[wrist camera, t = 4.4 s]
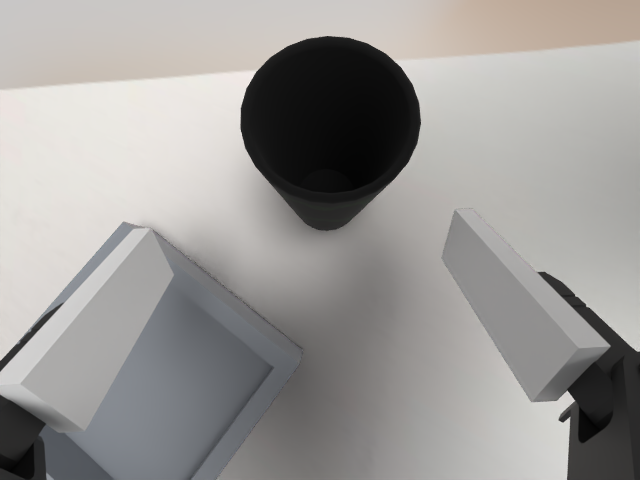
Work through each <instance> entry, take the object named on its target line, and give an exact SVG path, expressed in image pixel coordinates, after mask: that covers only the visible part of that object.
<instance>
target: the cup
mask: <svg viewBox="0 0 640 480" xmlns="http://www.w3.org/2000/svg"><path fill="white" fill-rule="evenodd" d="M420 125H421V119H420V107H419V101H418V99H417V96H416V93H415V90H414V87H413V85H412V83H411V82H410V80H409V79H408V77H407V76H406V74H405V73H404V71H403V70H402V68H401V67H400V66H399V65H398V64H397V63H395V62H394V61H393V60H392V59H391V58H390V57H389V56H388V55H387V54H385V53H384V52H382V51H380V50H378V49H376V48H374V47H373V46H371V45H369V44H367V43H364V42H361V41H357V40H354V39H351V38H344V37H332V36H325V37H319V38H311V39H306V40H303V41H300V42H298V43H295V44H292V45H290V46H287V47H286V48H284V49H283V50H281V51H280V52H278V53H276V54H275V55H273V56H272V57H271V58H269V60H267V61H266V62H265V64H264V65H263V66H262V67H261V68H260V69H259V70H258V71H257V72H256V73H255V75H254V77H253V79H252V80H251V82H250V84H249V85H248V87H247V89H246V92H245V96H244V99H243V103H242V106H241V132H242V136H243V140H244V145H245V148H246V150H247V152H248V154H249V156H250V157H251V159H252V161H253V163H254V165H255V166H256V168H257V169H258V170H259V171H260V172H261V173H262V175H263V176H264V177H265V178H266V179H267V180H268V181H269V183H270V184H271V185H272V186H273V187H274V188H275V189H276V191H277V192H278V193H279V194H280V195H281V196H282V197H283V199H284V200H285V201H286V202H287V203H288V204H289V205H290V207H291V208H292V209H293V210H294V211H295V212H296V214H297V215H298V216H299V217H300V218H301V219H302V220H303V221H304V222H305V223H306V224H307V225H309V226H311V227H312V228H315V229H318V230H326V231H328V230H335V229H337V228H340V227H342V226H344V225H345V224H347V223H348V222H349V221H350V220H351V219H352V218H353V217H355V216H356V215H357V214H358V213H359V212H360V211H361V210H362V209H363V208H364V207H365V206H366V205H367V204H368V203H369V202H370V201H371V200H373V199H374V198H375V197H376V196H377V195H378V194H379V193H380V192H381V191H382V190H383V189H384V188H385V187H386V186H387V185H388V184H389V183H391V182H392V181H393V180H394V179H395V178H396V176H397V175H398V174H399V173H400V172H401V170H402V169H403V168H404V167H405V166H406V164H407V163H408V162H409V160H410V158H411V156H412V153H413V151H414V149H415V147H416V145H417V142H418V136H419V131H420Z"/></svg>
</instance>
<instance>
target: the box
mask: <svg viewBox="0 0 640 480" xmlns="http://www.w3.org/2000/svg"><path fill="white" fill-rule="evenodd" d="M141 228H144V227H140V226H137V225H134V224H130V223H127V222H123V223H122V224H121V225H120V226H119V227H118V228H117V230H116V231H115V232H114V233H113V234H112V235H111V236H110V238H109V239H108V240H107V241H106V242H105V243H104V244H103V246H102V247H101V248H100V249H99V250H98V251H97V252H96V254H95V255H94V256H93V257H92V258H91V259H90V260H89V262H88V263H87V264H86V265H85V266H84V267H83V268H82V270H81V271H80V272H79V273H78V274H77V275H76V276H75V278H74V279H73V280H72V281H71V282H70V283H69V284H68V286H67V287H66V288H65V289H64V290H63V291H62V292H61V294H60V295H59V296H58V297H57V298H56V299H55V300H54V302H53V303H52V304H51V305H50V306H49V307H48V308H47V310H46V311H45V312H44V313H43V314H42V315H41V316H40V318H39V319H38V320H37V321H36V322H35V323H34V324H33V326H32V327H31V328H30V329H29V330H28V331H27V332H26V334H27V333H28V332H31V329H32V328H33V327H34V326H35V324H36V323H37V322H38V321H39V320H40V319H41V318H42V317H43V316H44V315H45V314H47V313H48V312H50V311H51V310H53V309H54V308H55V307H57V306H58V305H60V304H61V303H65V302H66V301H67V300H68V299H69V297H70V296H71V295H72V294H73V293H74V292H75V291H76V290H77V289H78V288H79V287H80V286H81V285H82V283H83V282H84V281H85V280H86V279H87V278H88V277H89V276H90V275H91V274H92V273H93V272H94V271H95V270H96V268H97V267H98V266H99V265H100V264H101V263H102V262H103V261H104V260H105V259H106V258H107V257H108V256H109V254H110V253H111V252H112V251H113V250H114V249H115V248H116V247H117V246H118V245H119V244H120V243H121V242H122V241H123V239H124V238H125V237H126V236H127V235H128V234H129V233H130V232H131V231H132V230H133V229H141ZM152 231H153V230H152ZM153 233H154V235H155V237H156V239H157V241H158V243H159V245H160V247H161V249H162V251H163V253H164V255H165V257H166V259H167V261H168V263H169V266H170V268H171V270H172V272H173V274H174V276H173V278H172V280H171V281H170V283H169V285H168V287H167V288H166V290H165V292H164V294H163V295H162V297H161V299H160V301H159V302H158V304H157V306H156V308H155V309H154V311H153V313H152V315H151V316H150V318H149V320H148V322H147V323H146V325H145V327H144V329H143V330H142V332H141V334H140V336H139V337H138V339H137V341H136V343H135V344H134V346H133V348H132V350H131V351H130V353H129V355H128V357H127V358H126V360H125V362H124V364H123V365H122V367H121V369H120V371H119V372H118V374H117V376H116V378H115V379H114V381H113V383H112V385H111V386H110V388H109V390H108V392H107V393H106V395H105V397H104V399H103V400H102V402H101V404H100V406H99V407H98V409H97V411H96V413H95V414H94V416H93V418H92V420H91V421H90V423H89V425H88V427H87V428H86V430H85V431H79V432H63V433H58V432H57V431H55V430H54V429H52V428H51V427H49V426H48V425H45V426H44V428H43V429H42V431H41V432H40V434H39V436H41V437H42V439H43V441H44V446H45V462H46V478H47V480H216V478H217V477H218V476H219V474H220V473H221V472H222V470H223V469H224V467H225V466H226V465H227V463H228V462H229V461H230V459H231V458H232V456H233V455H234V454H235V452H236V451H237V450H238V448H239V447H240V445H241V444H242V443H243V441H244V440H245V439H246V437H247V436H248V434H249V433H250V432H251V430H252V429H253V428H254V426H255V425H256V423H257V422H258V421H259V419H260V418H261V417H262V415H263V414H264V412H265V411H266V410H267V408H268V407H269V406H270V404H271V403H272V401H273V400H274V399H275V397H276V396H277V395H278V393H279V392H280V390H281V389H282V388H283V386H284V385H285V384H286V382H287V381H288V379H289V378H290V377H291V375H292V374H293V373H294V371H295V370H296V368H297V367H298V366H299V364H300V361H301V358H302V354H303V350H302V349H301V348H299V347H298V346H297V345H296V344H294V343H293V342H292V341H291V340H289V339H288V338H287V337H286V336H285V335H283V334H282V333H281V332H280V331H278V330H277V329H276V328H275V327H273V326H272V325H271V324H270V323H268V322H267V321H266V320H265V319H263V318H262V317H261V316H260V315H258V314H257V313H256V312H255V311H253V310H252V309H251V308H250V307H248V306H247V305H246V304H245V303H243V302H242V301H241V300H240V299H238V298H237V297H236V296H235V295H233V294H232V293H231V292H230V291H228V290H227V289H226V288H225V287H223V286H222V285H221V284H220V283H218V282H217V281H216V280H215V279H213V278H212V277H211V276H210V275H208V274H207V273H206V272H205V271H203V270H202V269H201V268H200V267H198V266H197V265H196V264H195V263H193V262H192V261H191V260H190V259H188V258H187V257H186V256H185V255H183V254H182V253H181V252H180V251H178V250H177V249H176V248H175V247H173V246H172V245H171V244H170V243H168V242H167V241H166V240H165V239H163V238H162V237H161V236H160V235H158V234H157V233H156V232H155V231H153ZM26 334H25V335H26ZM25 335H24V336H25ZM24 336H23V337H24ZM23 337H22V338H23ZM22 338H21V339H22ZM21 339H20V340H21ZM20 340H19V342H18V343H17V344H19V343H20Z"/></svg>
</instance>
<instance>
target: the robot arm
mask: <svg viewBox="0 0 640 480" xmlns="http://www.w3.org/2000/svg"><path fill="white" fill-rule="evenodd" d="M441 259H442V260H443V262H444V264H445V265H446V267H447V268H448V270H449V272H450V273H451V275H452V276H453V278H454V280H455V281H456V283H457V284H458V286H459V288H460V289H461V291H462V292H463V294H464V296H465V297H466V299H467V300H468V302H469V304H470V305H471V307H472V308H473V310H474V312H475V313H476V315H477V316H478V318H479V320H480V321H481V323H482V324H483V326H484V328H485V329H486V331H487V332H488V334H489V336H490V337H491V339H492V340H493V342H494V344H495V345H496V347H497V348H498V350H499V352H500V353H501V355H502V356H503V358H504V360H505V361H506V363H507V364H508V366H509V368H510V369H511V371H512V372H513V374H514V376H515V377H516V379H517V380H518V382H519V384H520V385H521V387H522V388H523V390H524V392H525V393H526V395H527V396H528V398H529V400H530V401H531V402H543V401H557V400H558V399H559V398H560V397H561V396H562V395H563V394H564V393H565V392H566V391H567V390H568V392H569V393H570V394H571V396H572V397H573V398H574V400H575V402H573V403H572V404H571V405H570V406H569V407H568V408H567V409H566V410H565V411H564V412H563V413H562V414H561V415H560V417H559V421H561V422H564V421H566V420H567V419H568V418H569V417H570V435H569V455H568V474H567V480H640V352H637V351H635V350H634V349H633V348H632V347H631V346H629V345H628V344H627V343H626V342H625V341H624V340H623V339H622V338H621V337H620V336H619V335H618V334H617V333H616V332H615V331H613V330H612V329H611V328H610V327H609V326H608V325H607V324H606V323H605V322H604V321H603V320H602V319H601V318H600V317H599V316H597V315H596V314H595V313H594V312H593V311H592V310H591V309H590V308H589V307H586V304H585V303H584V302H583V301H581V300H580V299H579V298H578V297H575V294H574V293H573V292H572V291H571V290H570V289H569V288H568V287H567V286H565V285H564V284H563V283H562V282H561V281H559V280H557V279H556V278H554V277H552V276H551V275H549V274H547V273H546V272H536V271H535V270H534V269H533V268H532V267H531V266H530V265H529V264H528V263H527V262H526V261H525V260H524V259H523V258H522V257H521V256H520V255H519V254H518V253H517V252H516V251H515V250H514V249H513V248H512V247H511V246H510V245H509V244H508V243H507V242H506V241H505V240H504V239H503V238H502V237H501V236H500V235H499V234H498V233H497V232H496V231H495V230H494V229H493V228H492V227H491V226H490V225H489V224H488V223H487V222H486V221H485V220H484V219H483V218H482V217H481V216H480V215H479V214H478V213H477V212H476V211H475V210H474V209H473V208H469V209H455V211H454V214H453V218H452V222H451V225H450V229H449V232H448V236H447V240H446V243H445V247H444V250H443V254H442V258H441ZM173 276H174V274H173V272H172V270H171V268H170V266H169V263H168V261H167V259H166V257H165V255H164V253H163V251H162V249H161V247H160V245H159V243H158V241H157V239H156V237H155V235H154V233H153V231H152V229H151V228H141V229H133V230H132V231H131V232H130V233H129V234H128V235H127V236H126V237H125V238H124V239H123V241H122V242H121V243H120V244H119V245H118V246H117V247H116V248H115V249H114V250H113V251H112V252H111V253H110V254H109V256H108V257H107V258H106V259H105V260H104V261H103V262H102V263H101V264H100V265H99V266H98V267H97V268H96V270H95V271H94V272H93V273H92V274H91V275H90V276H89V277H88V278H87V279H86V280H85V281H84V282H83V283H82V285H81V286H80V287H79V288H78V289H77V290H76V291H75V292H74V293H73V294H72V295H71V296H70V297H69V299H68V300H67V301H66V302H65V303H61V304H60V305H58V306H57V307H55V308H54V309H53V310H51V311H50V312H48V313H47V314H45V315H44V316H43V317H42V318H41V319H40V320H39V321H38V322H37V323H36V324H35V326H34V327H33V328H32V329H31V332H28V333H27V334H26V335H25V336H24V337H23V338H22V339H21V340H20V343H19V344H16V345H15V346H14V347H13V348H12V349H11V350H10V351H9V353H8V354H7V355H6V356H5V357H4V358H3V359H2V360H1V361H0V480H47V478H46V462H45V446H44V441H43V439H42V437H41V436H39V434H40V432H41V431H42V429H43V428H44V426H45V425H48V426H49V427H51V428H52V429H54V430H55V431H57V432H58V433H63V432H79V431H85V430H86V428H87V427H88V425H89V423H90V421H91V420H92V418H93V416H94V414H95V413H96V411H97V409H98V407H99V406H100V404H101V402H102V400H103V399H104V397H105V395H106V393H107V392H108V390H109V388H110V386H111V385H112V383H113V381H114V379H115V378H116V376H117V374H118V372H119V371H120V369H121V367H122V365H123V364H124V362H125V360H126V358H127V357H128V355H129V353H130V351H131V350H132V348H133V346H134V344H135V343H136V341H137V339H138V337H139V336H140V334H141V332H142V330H143V329H144V327H145V325H146V323H147V322H148V320H149V318H150V316H151V315H152V313H153V311H154V309H155V308H156V306H157V304H158V302H159V301H160V299H161V297H162V295H163V294H164V292H165V290H166V288H167V287H168V285H169V283H170V281H171V280H172V278H173Z"/></svg>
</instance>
